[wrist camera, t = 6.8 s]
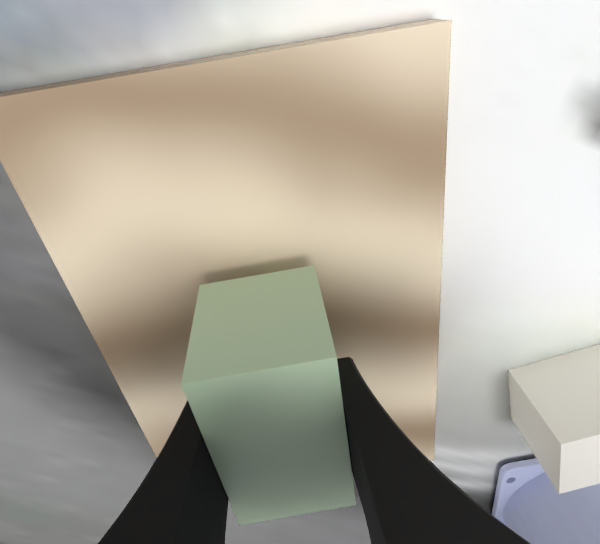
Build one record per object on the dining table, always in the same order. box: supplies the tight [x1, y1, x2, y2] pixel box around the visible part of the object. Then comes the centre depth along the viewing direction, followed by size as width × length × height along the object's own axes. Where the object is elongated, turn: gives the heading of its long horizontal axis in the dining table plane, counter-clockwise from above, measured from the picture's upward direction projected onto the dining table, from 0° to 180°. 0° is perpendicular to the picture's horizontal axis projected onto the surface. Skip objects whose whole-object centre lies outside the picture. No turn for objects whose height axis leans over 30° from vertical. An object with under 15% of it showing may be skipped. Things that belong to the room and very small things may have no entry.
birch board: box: [0, 19, 452, 474], centre depth 16 cm, size 18×12×1 cm, turn 8°
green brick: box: [181, 265, 356, 525], centre depth 13 cm, size 6×4×4 cm, turn 8°
